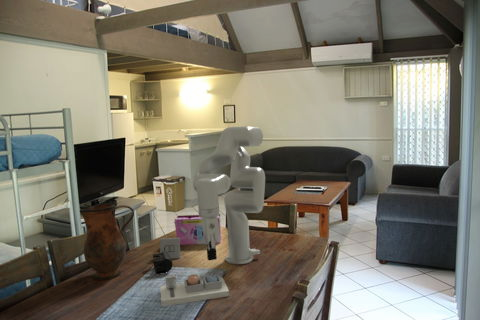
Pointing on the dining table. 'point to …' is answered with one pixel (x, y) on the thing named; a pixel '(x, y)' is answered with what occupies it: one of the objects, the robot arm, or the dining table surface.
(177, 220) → the gum box
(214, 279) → the button blue
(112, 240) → the pitcher
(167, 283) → the paddle
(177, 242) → the electrical switch
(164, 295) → the switch panel
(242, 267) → the dining table surface
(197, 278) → the button terracotta
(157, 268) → the end cap
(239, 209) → the robot arm
